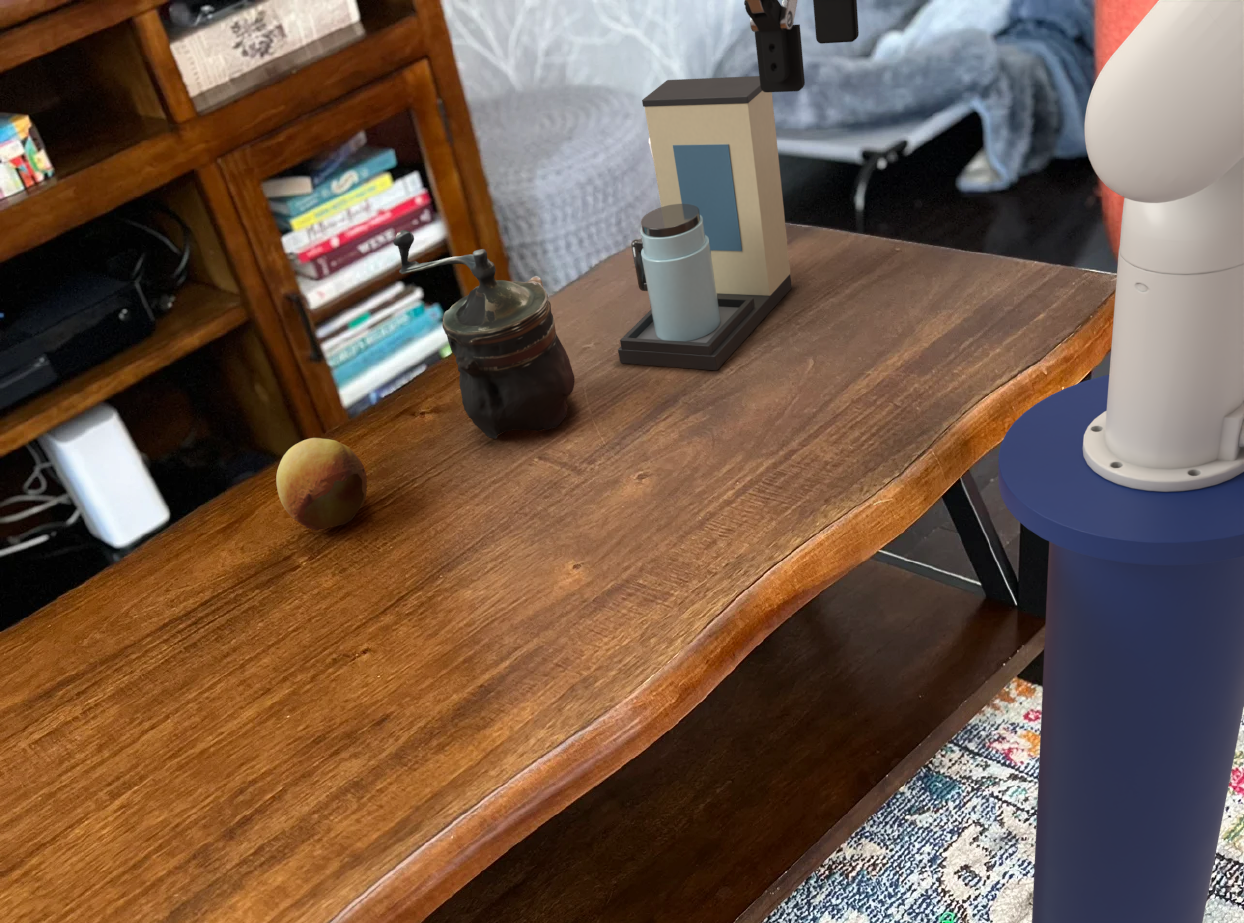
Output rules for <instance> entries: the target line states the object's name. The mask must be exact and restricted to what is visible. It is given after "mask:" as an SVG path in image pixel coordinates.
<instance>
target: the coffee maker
mask: <svg viewBox="0 0 1244 923" xmlns="http://www.w3.org/2000/svg"><path fill="white" fill-rule="evenodd" d="M641 103H642V107H644V112H645V118H646V124H647V131H648V135H649V137H648V138H650V143H651V149H652V154H651V156H652V155H653V157H652V161H653V166H654V172H655V178H656V183H657V190H658V196H659V201H660V207H664V206H668V205H673V204H691V205H695V206H697V207H698V208H699V211H700V215H701V216H702V218H703V223H704V230H705V235H706V236H707V237H708V238H709V242H710V249H711V256H712V263H713V270H714V277H715V284H716V291H717V297H718V304H719V311H720V318H721V322H720V325H719V326H718V327H717V329H715V330H714V331H713V332H711V333H710V334H708V335H706V336H704V337H701V338H698V339H695V340H691V341H670V340H662V339H660V338H658V337H657V335H656V333H655V328H654V322H653V317H652V311H651V309H650V310H649V311H648V312H647V313H645V314H644V316H643V317H642V318H640V320H639V321H637V322H636V323H635V324H634V326H633V327H631V328H630V329H629V330H628V332H626V333H625V334H624V335H623V336H622V337H621V338H620V339H619V343H620V346H619V347H618V348H617V353H618V358H619V362H620V364H627V365H639V366H655V367H665V368H666V367H667V368H677V369H678V368H679V369H691V370H706V371H718V370H719V369H720V368H721V367H722V366H723V365H724V364H725V362H726V361H727V360H729V359H730V357H731V356H732V355H733V353H734V352H735V351H736V350H737V349H738V348H739V347H740V346H741V345H742V344H743V343H744V341H745V340H746V339H747V338H748V337H749V336H750V335H751V334H752V333H753V332H754V330H755V329H756V328H757V327H758V326H759V325H760V323H762V321H763V320H765V318H766V317H767V316H768V315H769V313H771V311H773V309H775V307H776V306H777V305H778V303H780V301H782V299H783V298H785V296H786V295H787V294H788V293H789V291H790V290H791V289H792V287H793V286H792V276H791V266H790V254H789V246H788V236H787V226H786V217H785V207H784V198H783V187H782V178H781V167H780V159H779V158H780V157H779V149H778V138H777V130H776V120H775V111H774V110H775V108H774V100H773V92H763V91H762V89H761V87H760V77H759V75H751V76H749V75H748V76H727V77H709V78H708V77H705V78H702V77H701V78H684V79H683V78H681V79H667V80H665V81H664V82H663V83H662V84H660V85H658V87H656V88H655V89H654V90H653V91H652V92H650V93H649V94H647V95H646V96H645V97H644V98H642V99H641Z"/></svg>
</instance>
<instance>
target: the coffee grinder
mask: <svg viewBox="0 0 1244 923" xmlns="http://www.w3.org/2000/svg"><path fill="white" fill-rule="evenodd" d="M414 241H415V235H414V234H413V233H412V232H411V231H409V230H407V229H402V230H401V229H400V231H399V232H397V233H396V235H395V238H394V240H393V242H392V243H393V245H394V246H395V247H397V249H398V252H399V255H400V262H401V267H400V269H399V271H398V272H399V273H400V274H401V275H406V274H407V275H408V274H409V273H414V272H421V271H426V270H429V269H433V268H436V267H440V266H446V265H465V266H467V267H468V269H469V270H470V271H471V273H472V275H473V276H474V277H475V278H476V279H477V281H478V283H479V285H478V286H475V288H473V289H472V290H470V291H469V292H468V294H467V295H465V296H464V297H462V298H460V299H459V300H457V301H456V302H455V303H454V304H452V305H451V307H450V308H449V309H448V310H446V311H444V313H443V316H442V324H441V325H442V330H443V331H444V334H445V335H446V337H447V342H448V345H449V348H450V351H451V352H452V354H453V355H454V357H455V363H456V365H457V372H459V382H458V383H459V389H460V390H459V391H460V395H461V402H462V405H463V410H464V411H465V413H466V414H467V416H468V418H469V419H471V422H472V424H473V425H475V426H476V427H477V428H478V429H479V430H480V431H481V432H483V434H484V435H485V436H486V437H488V438H489V439H498V436H499V435H502V434H503V433H505V432H511V431H516V430H517V431H533V432H542V431H545V430H546V431H549V430H550V429H551V430H552V429H555V428H558V427H559V426H560V424H561V423H562V422H563V421H564V420H565V418H566V417H567V416H568V408H569V406H568V405H567V399H568V397H569V396H570V395H571V394H572V393H573V391H574V389H575V382H576V381H575V374H574V371H573V368H572V365H571V361H570V357H569V355H568V353H567V351H566V349H565V346H564V345H563V344H562V342H561V340H560V338H559V336H558V334H557V331H556V325H555V324H556V323H555V319H554V315H553V313H552V304H551V301H550V300H549V295H548V293H547V290H546V289H545V288H544V285H543V281H542V279H541V278H540V276H537V275H534V276H532V277H531V278H530V279H529V280H527V281H525V282H524V281H519V280H515V281H509V280H505V279H501V280H500V279H499V280H497V279H495V276H496V271H497V270H496V269H497V268H496V266H495V263H494V262H492V261H490V259H489V258H488V252H487V250H486V249H484V248H482V249H481V248H480V249H477V250H474V251H473V252H472V254H464V255H461V256H452V257H451V256H450V257H445V258H441V259H439V260H438V259H437V260H434V261H429V262H427V261H426V262H422V263H419V262H418V261H416V260H413V261H409V260H408V259H409V254H410V249H411V247H412V245H413V244H414Z"/></svg>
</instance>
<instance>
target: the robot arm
mask: <svg viewBox="0 0 1244 923" xmlns="http://www.w3.org/2000/svg"><path fill="white" fill-rule="evenodd" d="M743 4H744V10H745V12H746V14H747V15H748V16H749V18H750V19H749V26H750V29H751V31H752V33H754V38H755V48H756V58H757V59H756V60H757V67H758V76H759V77H760V87H761V89H762V91H763V92H772V93H788V92H790V93H791V92H799V91H801V90H802V89H803V88H805V84H806V82H805V68H804V58H803V57H804V56H803V46H802V36H801V34H802V33H801V24H794V23H795V16H796V10H797V6H798V5H797V4H798V0H782V1H781V3H780V1H779V0H744V2H743ZM812 4H813V17H814V28H815V38H816V41H817V43H818V44H821V45H822V44H823V45H824V44H837V43H838V44H839V43H853V42H855V41H856V40H857V39H858V37H859V33H860V32H859V17H858V0H812ZM1084 115H1085V116H1084V144H1085V148H1086V153H1087V157H1088V160H1089V162H1090V164H1091V167H1092V169H1093V171H1094V173H1095V174H1096V175H1097V177H1098V178H1099V179H1100V181H1101V182H1102V183H1103V184H1104V185H1105V187H1107V188H1108V189H1110V191H1112V192H1113V193H1115V194H1116V195H1117V196H1118V195H1119V196H1121V197H1122V198H1123V205H1122V206H1123V207H1122V214H1121V226H1120V236H1119V237H1120V238H1119V247H1118V254H1117V255H1118V256H1117V269H1116V281H1115V285H1116V286H1115V295H1114V296H1115V298H1114V308H1113V322H1112V334H1111V335H1112V336H1111V348H1110V359H1109V360H1110V362H1109V374H1108V375H1109V386H1108V399H1107V411H1105V412H1103V413H1102V414H1101V415H1099V416H1098V417H1097V418H1095V419H1094V420H1093V421H1092V423H1091V424H1090V425H1089V426H1088V427H1087V429H1086V432H1085V434H1084V439H1083V456H1084V458H1085V460H1086V462H1087V464H1088V465H1089V467H1090V468H1091V469H1092V470H1093V471H1094V472H1096V473H1097V474H1099V475H1100V476H1102V477H1103V478H1105V479H1107V480H1109V481H1111V482H1113V483H1116V484H1118V485H1122V486H1125V487H1129V488H1132V489H1138V490H1145V491H1155V492H1180V491H1189V490H1196V489H1202V488H1206V487H1210V486H1214V485H1217V484H1220V483H1222V482H1225V481H1227V480H1230V479H1232V478H1234V477H1235V476H1237V475H1239V474H1241V473H1242V472H1244V0H1158V1H1157V2H1156V3H1155V4H1154V5H1153V6H1152V8H1151V9H1150V10H1149V11H1148V12H1147V14H1146V15H1145V16H1144V17H1143V18H1142V20H1141V21H1140V22H1139V23H1138V24H1137V26H1136V27H1135V28H1134V29H1133V30H1132V32H1130V34H1129V35H1128V36H1127V37H1126V39H1125V40H1123V42H1122V43H1121V44H1120V45H1119V47H1118V48H1117V49H1116V50H1115V51H1114V52H1113V54H1112V55H1111V56H1110V57H1109V59H1108V60H1107V61H1106V63H1105V64H1104V66H1103V67H1102V69H1101V70H1100V72H1099V74H1098V76H1097V78H1096V80H1095V82H1094V84H1093V86H1092V89H1091V92H1090V94H1089V98H1088V101H1087V104H1086V110H1085V114H1084Z"/></svg>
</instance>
